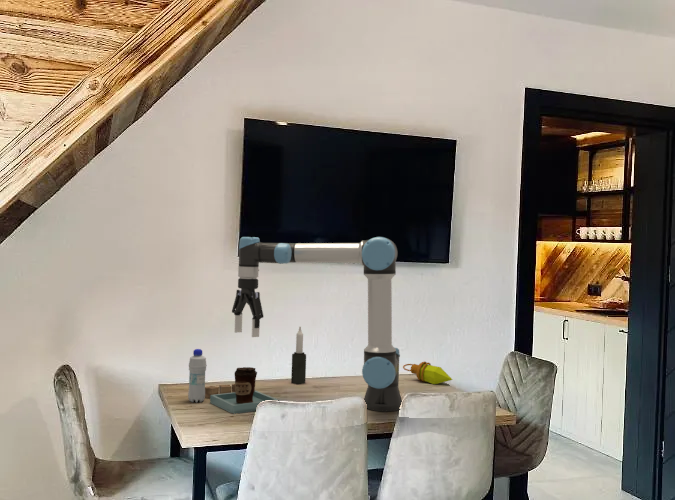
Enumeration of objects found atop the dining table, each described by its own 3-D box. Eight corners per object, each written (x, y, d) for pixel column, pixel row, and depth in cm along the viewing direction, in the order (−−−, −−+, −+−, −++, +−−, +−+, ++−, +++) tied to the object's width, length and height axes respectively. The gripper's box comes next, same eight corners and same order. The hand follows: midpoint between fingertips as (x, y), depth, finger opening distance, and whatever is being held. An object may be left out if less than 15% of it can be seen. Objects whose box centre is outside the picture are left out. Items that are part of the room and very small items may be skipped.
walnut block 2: (231, 396, 267) (231, 386, 267) (221, 397, 266) (221, 387, 266) (228, 394, 271) (229, 384, 271) (219, 395, 270) (219, 385, 270)
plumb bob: (456, 385, 306) (408, 371, 320) (457, 366, 303) (408, 353, 317) (447, 392, 299) (398, 378, 312) (448, 374, 296) (399, 360, 310)
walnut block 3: (245, 394, 272) (245, 384, 272) (237, 395, 269) (238, 385, 269) (239, 392, 275) (239, 382, 275) (231, 394, 272) (231, 384, 272)
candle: (306, 383, 297) (308, 326, 297) (298, 384, 293) (299, 327, 293) (298, 381, 301) (300, 325, 300) (290, 382, 297) (291, 326, 297)
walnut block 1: (218, 397, 266) (218, 387, 266) (211, 399, 262) (212, 388, 262) (210, 395, 268) (211, 385, 268) (203, 397, 264) (204, 387, 264)
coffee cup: (251, 406, 248) (252, 371, 248) (230, 404, 250) (231, 369, 250) (258, 401, 257) (259, 367, 256) (238, 399, 258) (239, 365, 258)
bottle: (196, 404, 253) (198, 351, 253) (183, 401, 256) (185, 349, 256) (209, 401, 258) (210, 348, 258) (196, 398, 262) (197, 347, 262)
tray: (279, 407, 251) (279, 399, 251) (233, 414, 240) (233, 405, 240) (254, 397, 267) (254, 390, 267) (210, 402, 255) (210, 395, 255)
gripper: (273, 280, 245) (272, 338, 245) (241, 276, 265) (239, 330, 265) (255, 280, 241) (253, 339, 241) (224, 276, 261) (222, 330, 261)
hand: (246, 334), depth 253 cm, fingers open, 13 cm apart
